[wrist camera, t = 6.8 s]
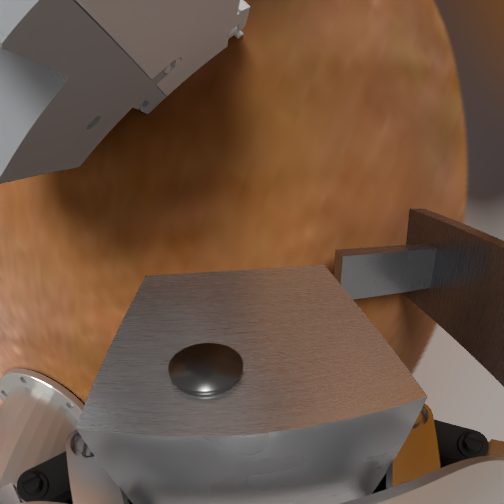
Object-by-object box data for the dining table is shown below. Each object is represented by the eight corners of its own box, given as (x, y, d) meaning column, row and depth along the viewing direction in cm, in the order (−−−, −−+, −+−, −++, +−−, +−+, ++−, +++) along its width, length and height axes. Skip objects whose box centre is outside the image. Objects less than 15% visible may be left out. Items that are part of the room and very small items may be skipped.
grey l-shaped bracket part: (412, 288, 24) (522, 384, 11) (318, 301, 23) (408, 444, 10) (423, 208, 21) (566, 272, 8) (322, 210, 21) (466, 304, 7)
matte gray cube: (309, 404, 13) (349, 523, 7) (178, 415, 12) (169, 540, 6) (324, 260, 10) (430, 389, 4) (145, 271, 10) (72, 422, 4)
